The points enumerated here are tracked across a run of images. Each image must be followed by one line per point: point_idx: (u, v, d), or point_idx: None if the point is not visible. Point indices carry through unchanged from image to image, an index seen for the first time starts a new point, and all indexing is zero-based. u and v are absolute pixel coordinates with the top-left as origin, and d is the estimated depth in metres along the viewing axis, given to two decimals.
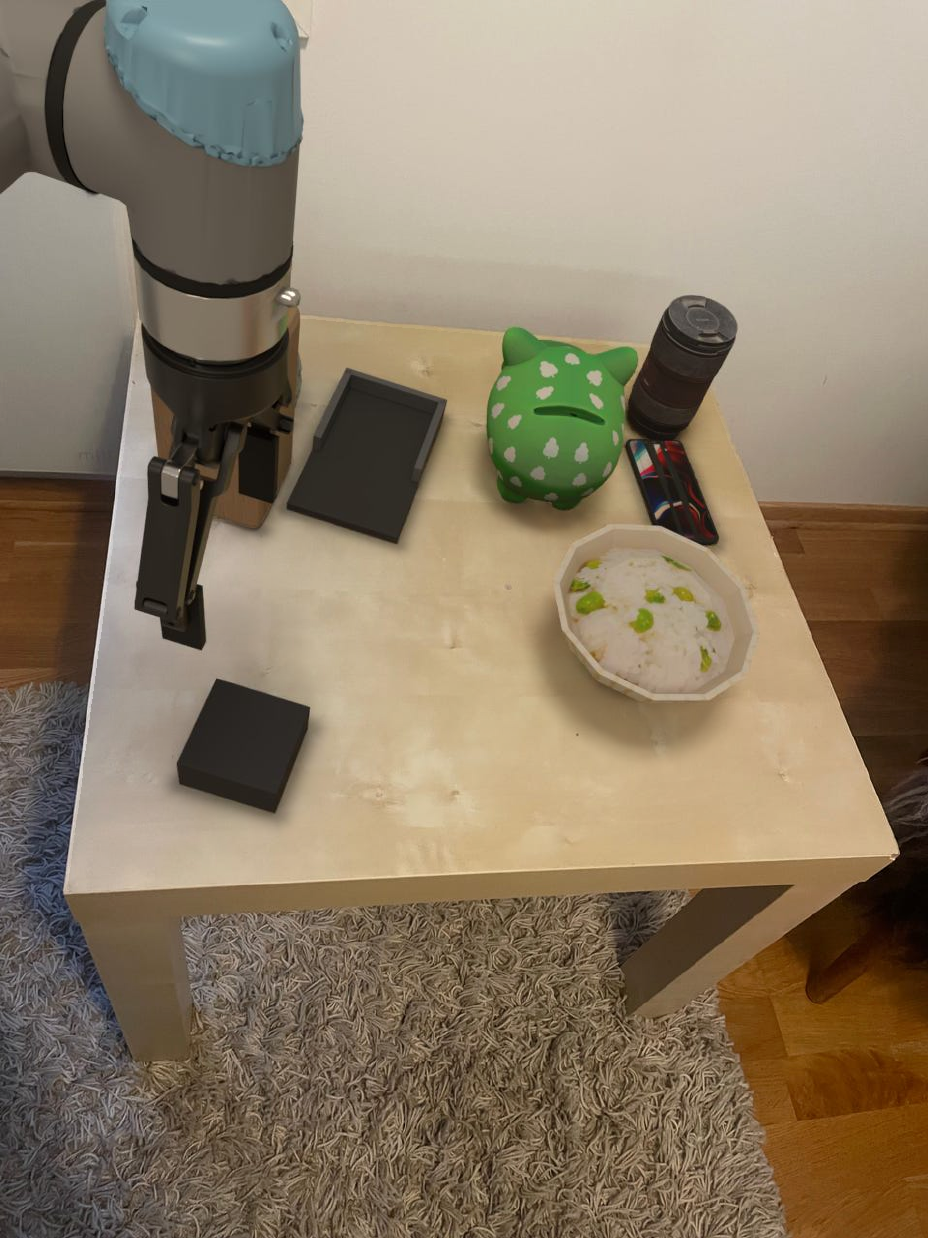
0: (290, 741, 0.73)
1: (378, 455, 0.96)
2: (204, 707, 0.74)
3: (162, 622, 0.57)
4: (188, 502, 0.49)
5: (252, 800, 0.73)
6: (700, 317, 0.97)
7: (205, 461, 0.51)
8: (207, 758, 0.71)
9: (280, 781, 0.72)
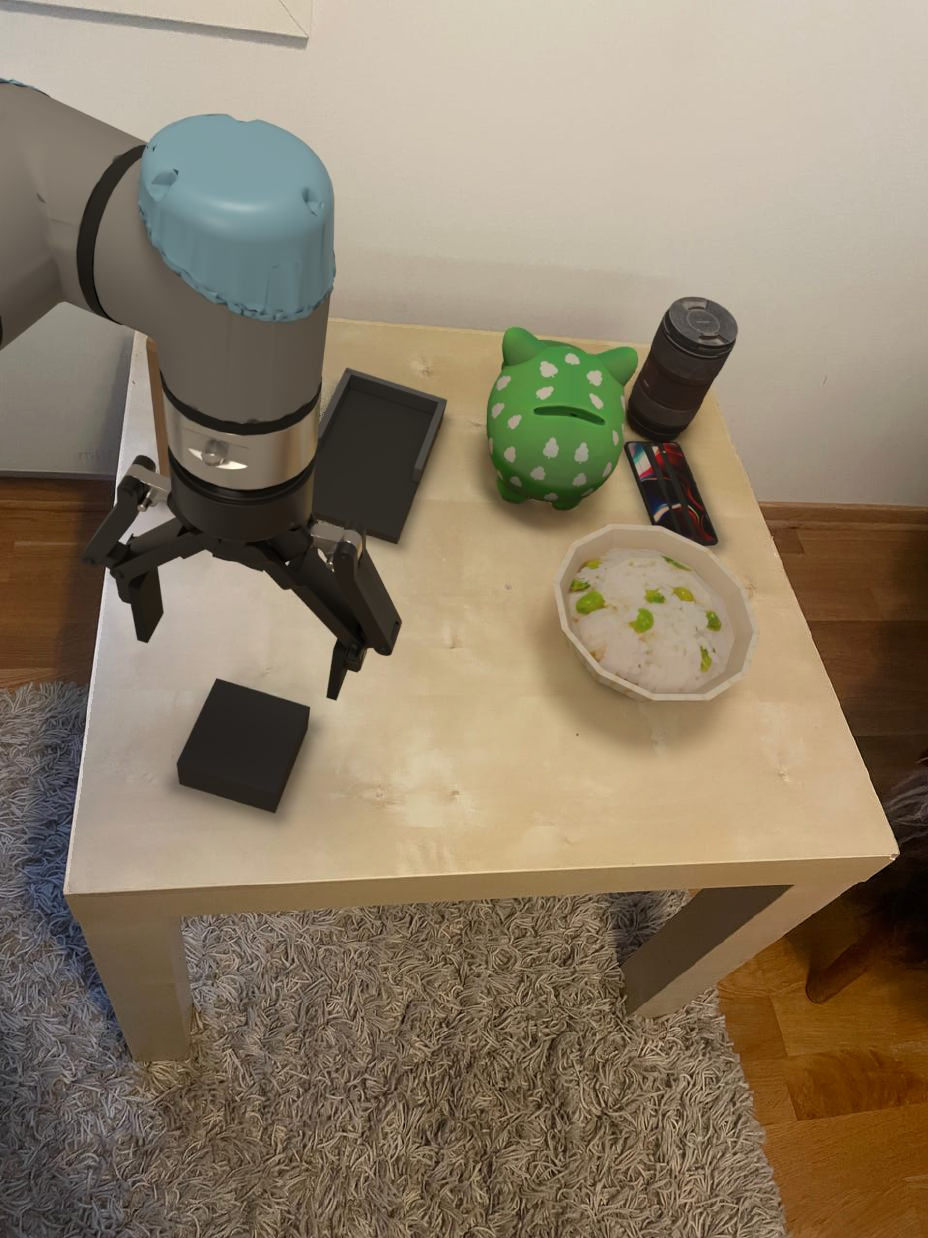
0: (290, 741, 0.73)
1: (378, 455, 0.96)
2: (204, 707, 0.74)
3: None
4: None
5: (252, 800, 0.73)
6: (701, 319, 0.97)
7: (170, 510, 0.52)
8: (207, 758, 0.71)
9: (280, 781, 0.72)
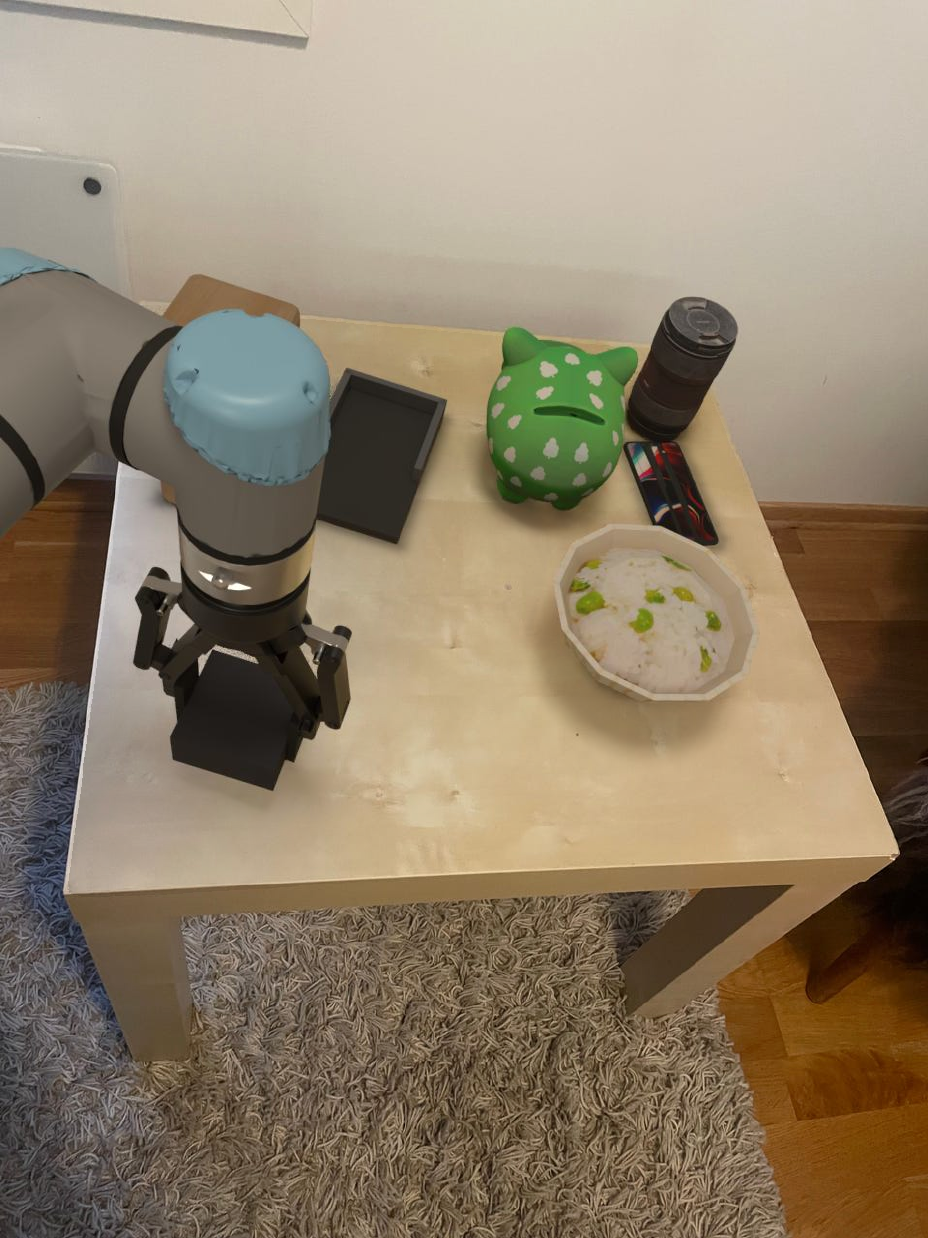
0: (289, 715, 0.70)
1: (378, 455, 0.96)
2: (199, 679, 0.70)
3: None
4: None
5: (249, 777, 0.70)
6: (701, 319, 0.97)
7: (180, 607, 0.59)
8: (202, 732, 0.68)
9: (279, 757, 0.68)
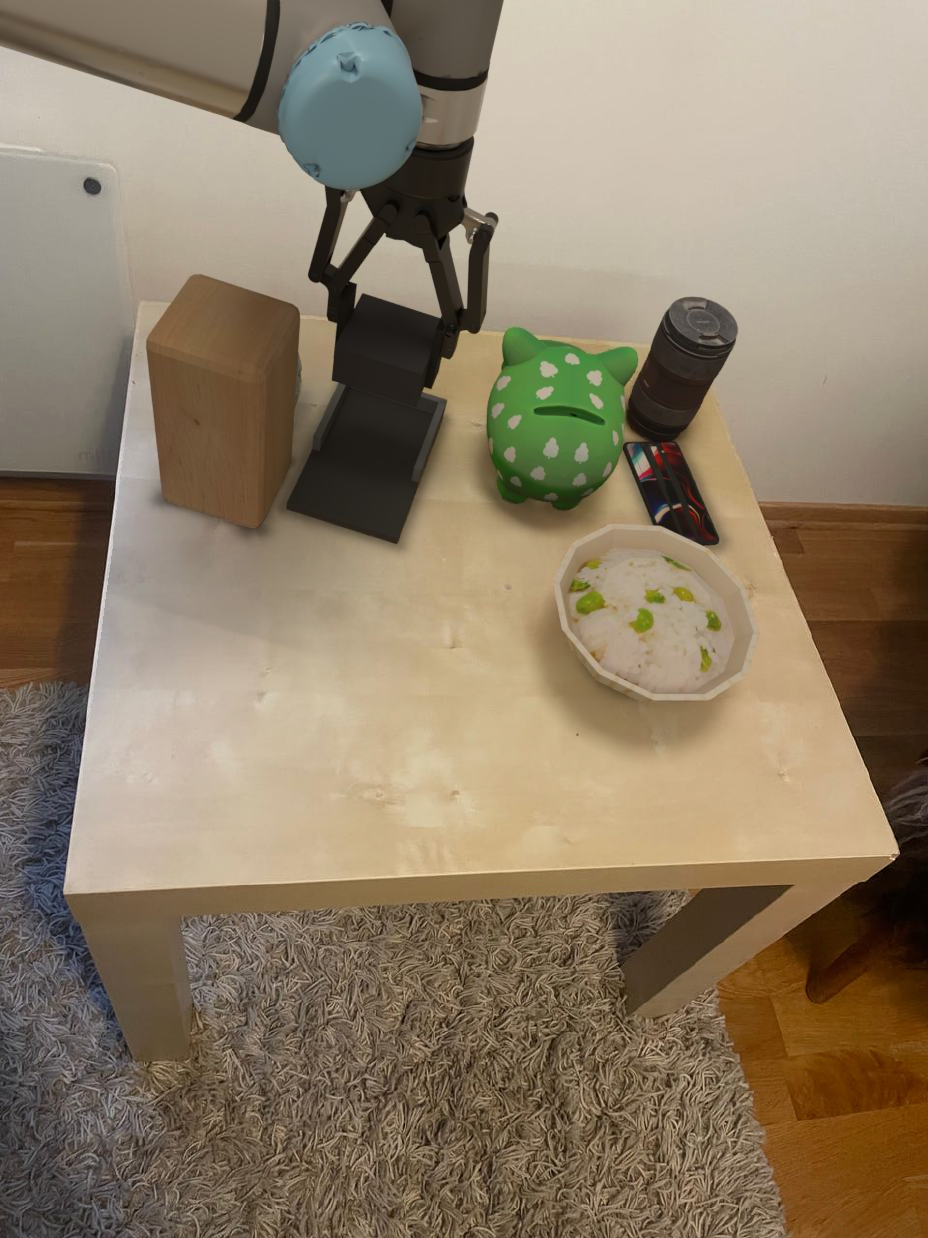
0: (430, 340, 0.83)
1: (378, 455, 0.96)
2: (354, 311, 0.83)
3: None
4: None
5: (397, 390, 0.83)
6: (701, 319, 0.97)
7: None
8: (361, 345, 0.81)
9: (424, 366, 0.81)
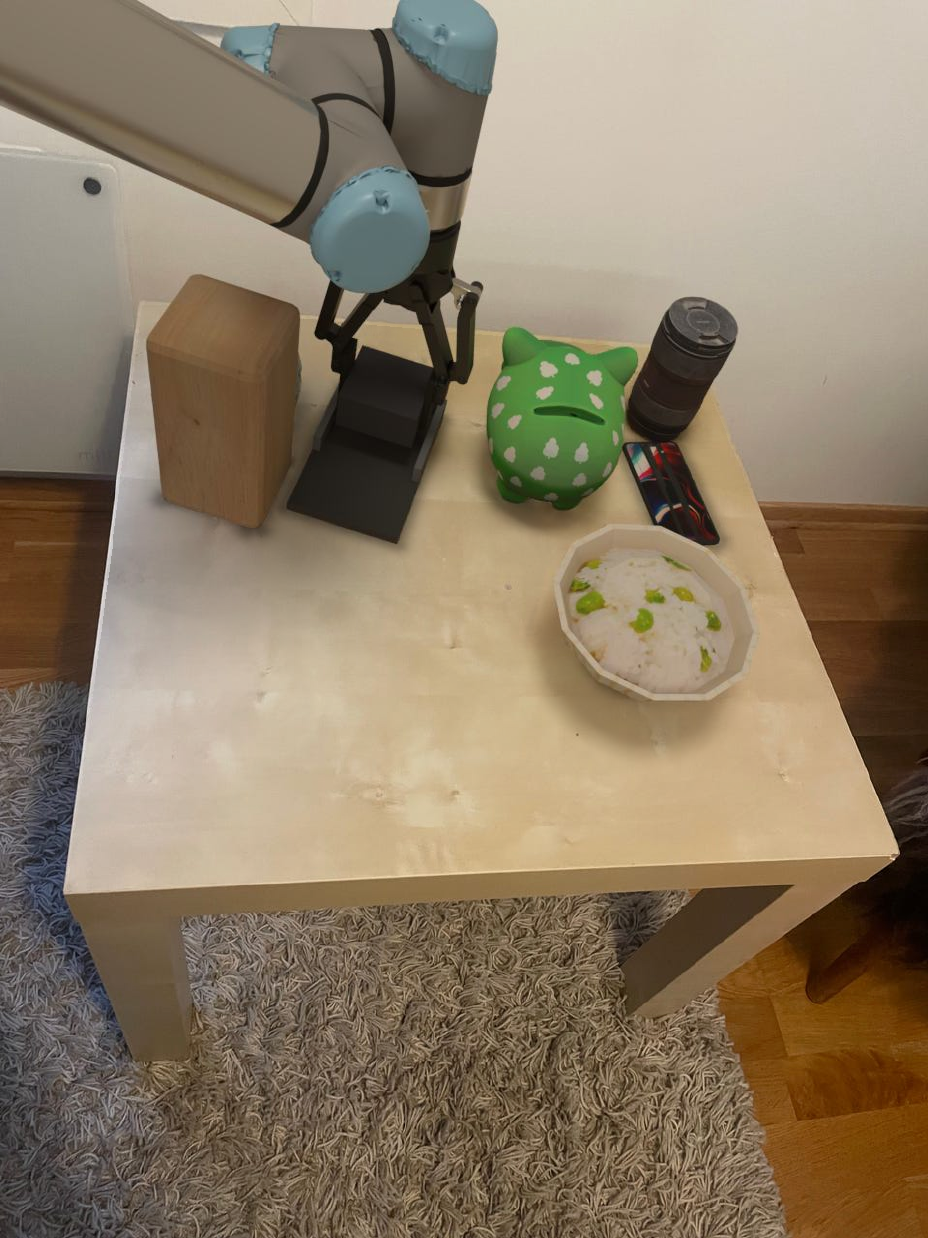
0: (423, 388, 0.93)
1: (378, 455, 0.96)
2: (355, 362, 0.93)
3: None
4: None
5: (394, 433, 0.92)
6: (701, 319, 0.97)
7: None
8: (362, 393, 0.91)
9: (419, 412, 0.91)
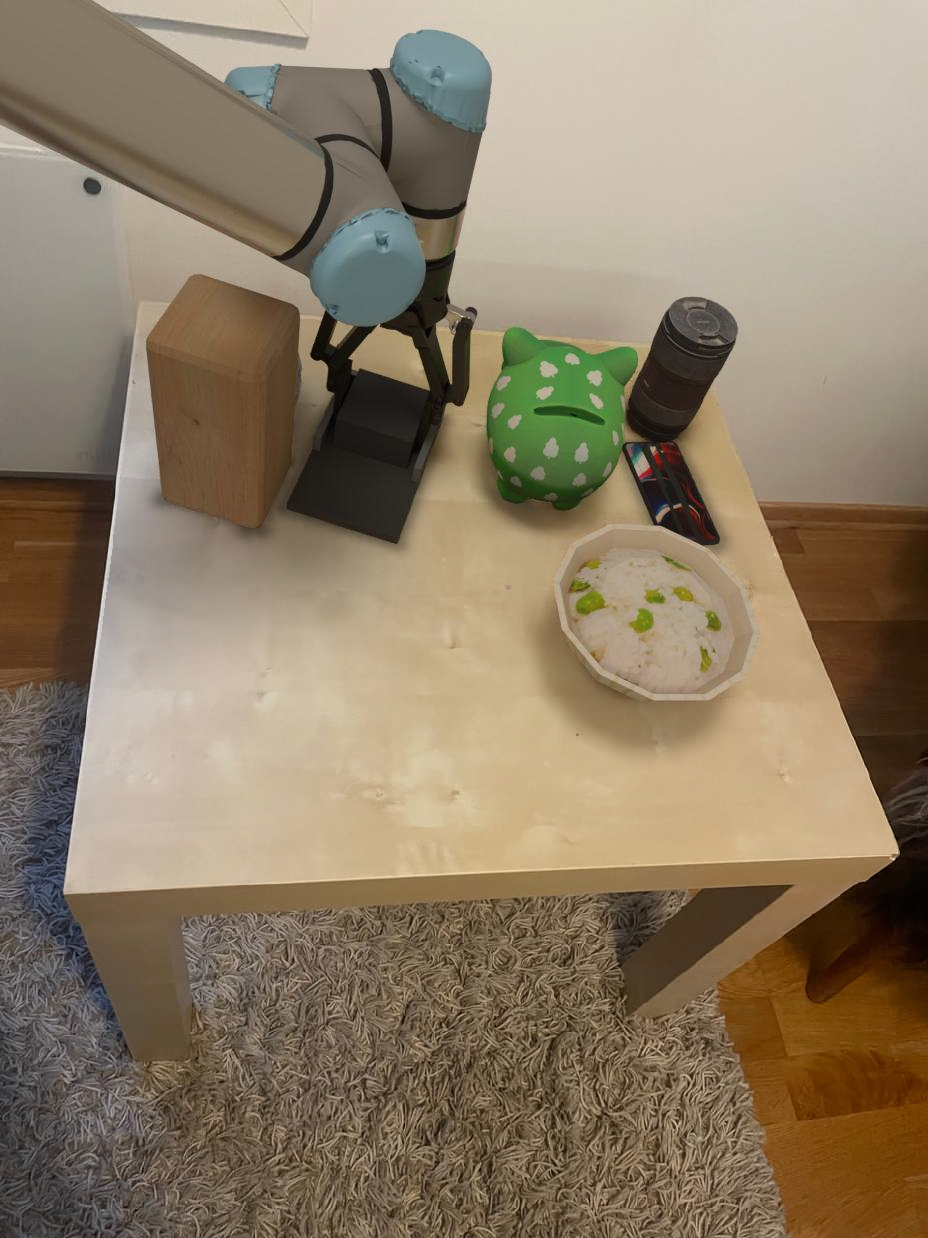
0: (419, 411, 0.95)
1: None
2: (352, 385, 0.95)
3: None
4: None
5: (390, 454, 0.95)
6: (701, 319, 0.97)
7: None
8: (359, 416, 0.93)
9: (414, 434, 0.93)
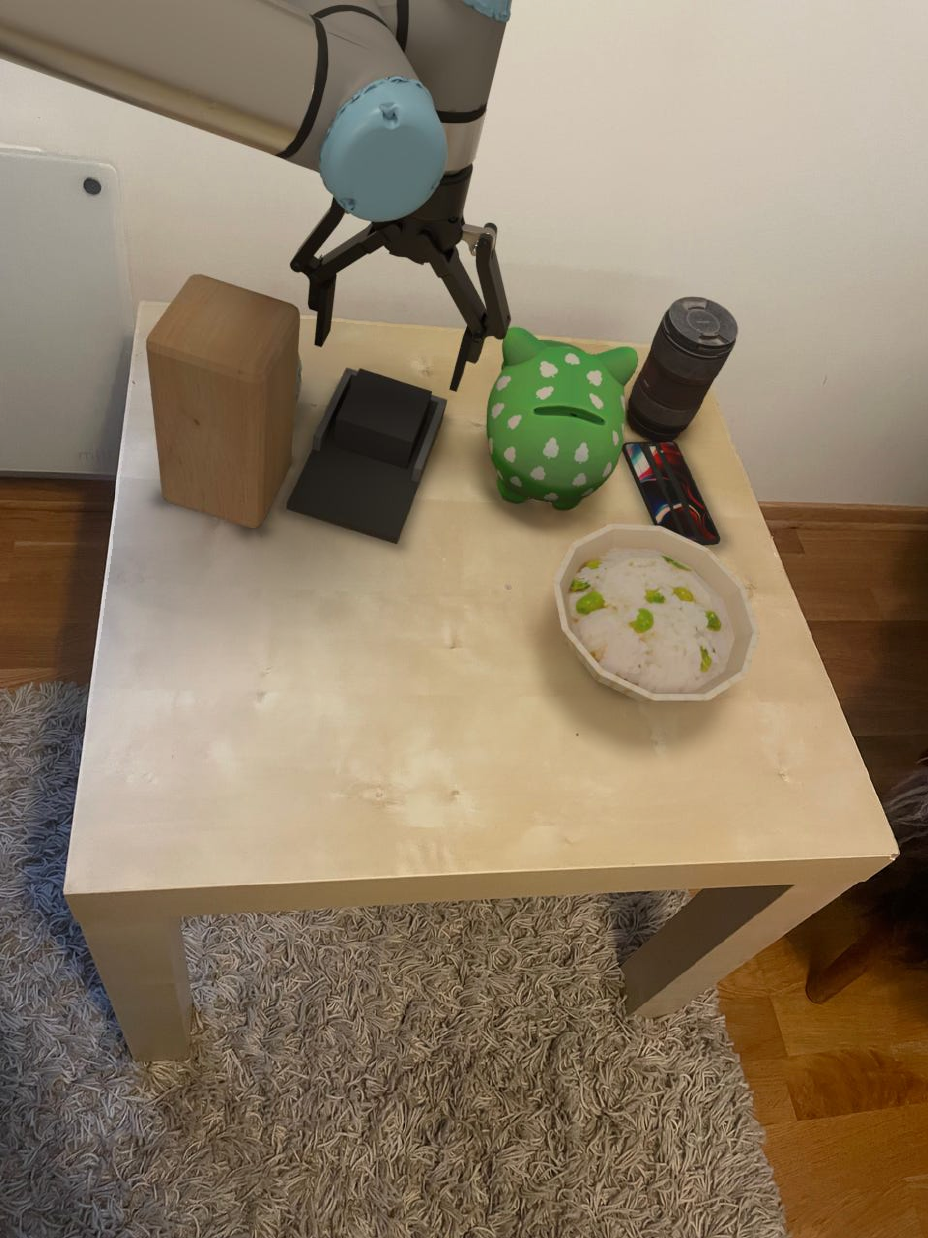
0: (419, 411, 0.95)
1: None
2: (352, 385, 0.95)
3: None
4: None
5: (390, 454, 0.95)
6: (701, 319, 0.97)
7: None
8: (359, 416, 0.93)
9: (414, 434, 0.93)
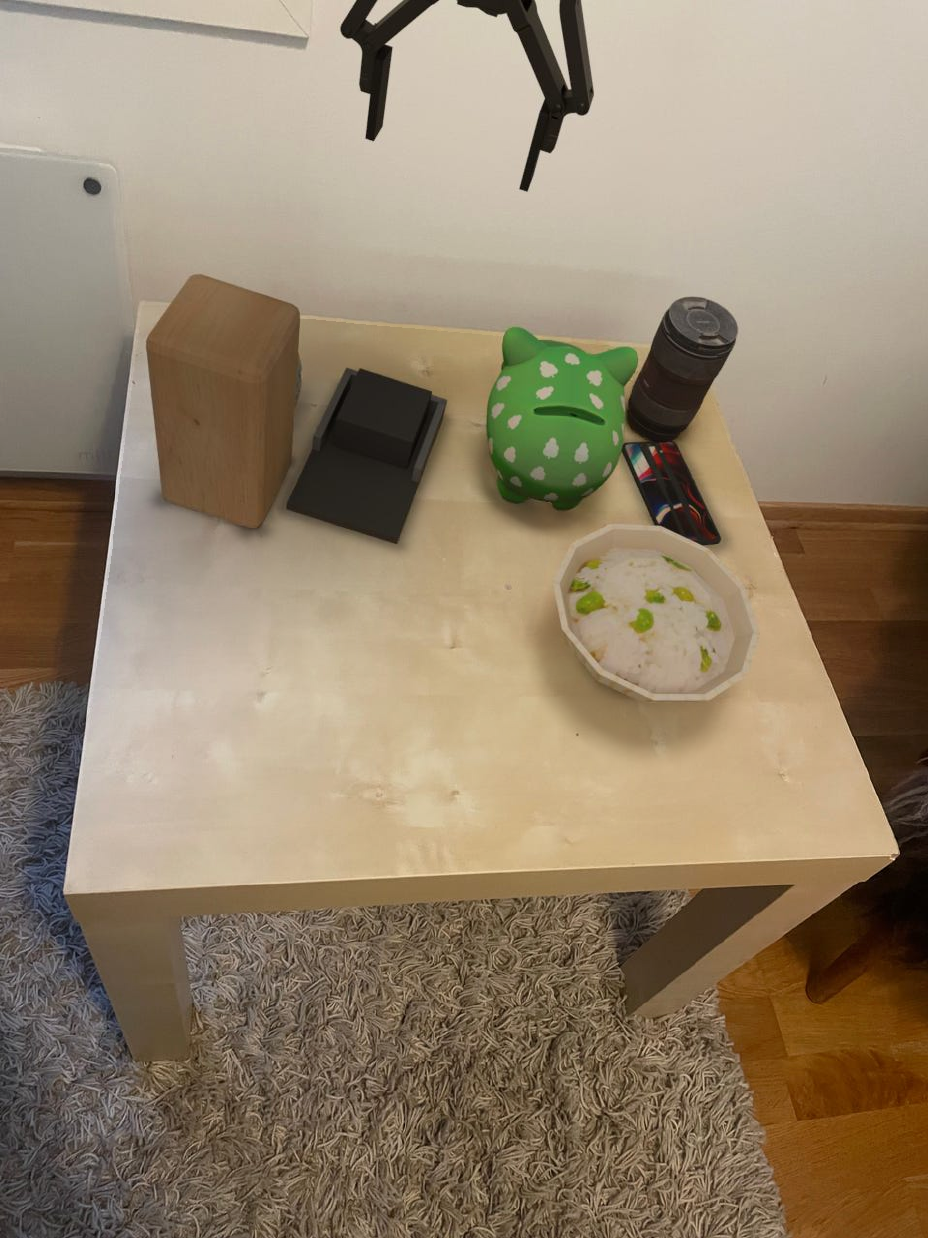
0: (419, 411, 0.95)
1: None
2: (352, 385, 0.95)
3: None
4: None
5: (390, 454, 0.95)
6: (701, 319, 0.97)
7: None
8: (359, 416, 0.93)
9: (414, 434, 0.93)
